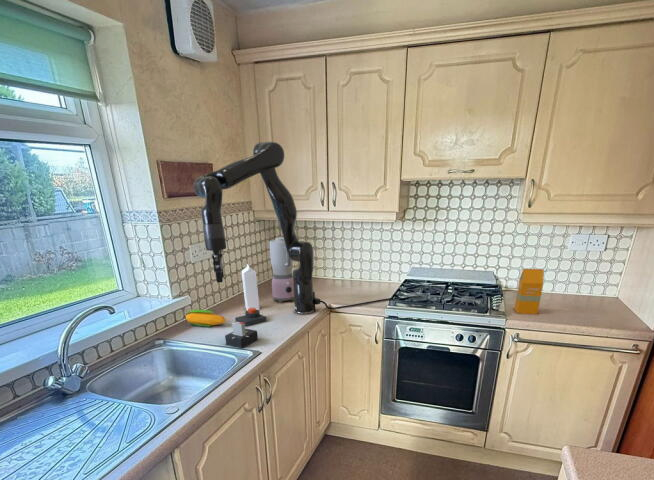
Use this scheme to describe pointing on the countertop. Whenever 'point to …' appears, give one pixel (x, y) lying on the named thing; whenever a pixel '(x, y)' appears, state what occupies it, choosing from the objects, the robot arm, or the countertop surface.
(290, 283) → the blender
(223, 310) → the countertop surface
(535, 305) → the orange juice
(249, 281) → the milk
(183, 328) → the countertop surface
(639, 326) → the countertop surface
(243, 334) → the timer knob
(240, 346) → the fryer panel
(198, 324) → the corn
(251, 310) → the power button
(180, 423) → the countertop surface
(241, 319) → the button block
